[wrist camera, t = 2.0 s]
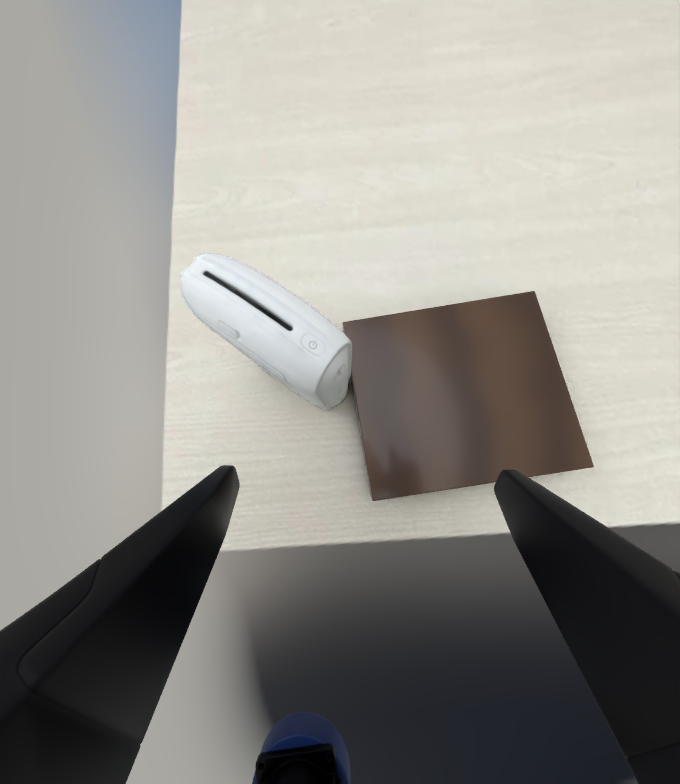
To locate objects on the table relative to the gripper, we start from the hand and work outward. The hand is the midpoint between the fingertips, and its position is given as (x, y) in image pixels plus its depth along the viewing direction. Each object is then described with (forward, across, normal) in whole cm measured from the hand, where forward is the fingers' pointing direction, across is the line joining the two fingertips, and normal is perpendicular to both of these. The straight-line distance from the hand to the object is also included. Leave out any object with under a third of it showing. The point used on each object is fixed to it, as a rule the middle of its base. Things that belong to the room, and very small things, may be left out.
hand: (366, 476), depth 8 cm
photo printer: (+16, +5, +3) cm, 17 cm away
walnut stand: (+14, -9, +4) cm, 17 cm away
